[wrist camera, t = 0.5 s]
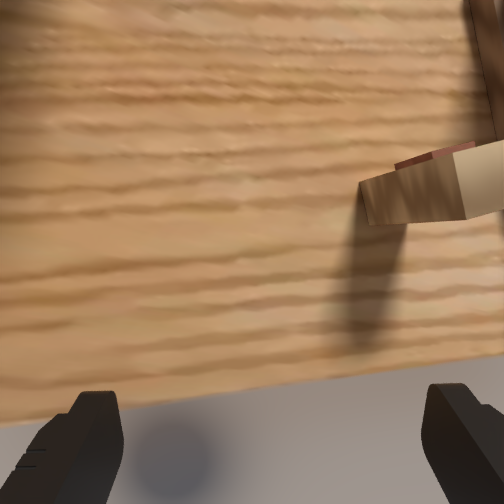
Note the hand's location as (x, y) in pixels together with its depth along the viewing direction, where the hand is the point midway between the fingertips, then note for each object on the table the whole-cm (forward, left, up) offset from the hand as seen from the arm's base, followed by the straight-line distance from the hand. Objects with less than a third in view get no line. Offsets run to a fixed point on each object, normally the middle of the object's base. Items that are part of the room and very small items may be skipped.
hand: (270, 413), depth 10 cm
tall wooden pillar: (-4, +17, -23) cm, 29 cm away
